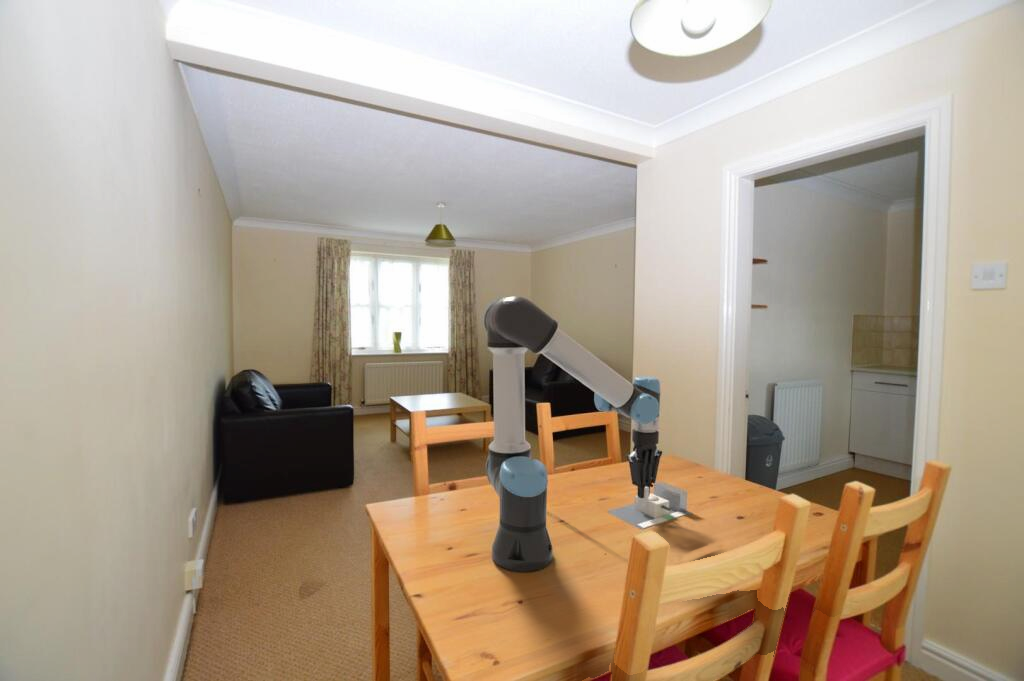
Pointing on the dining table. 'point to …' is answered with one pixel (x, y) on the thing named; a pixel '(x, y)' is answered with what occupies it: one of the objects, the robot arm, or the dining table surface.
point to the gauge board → (643, 516)
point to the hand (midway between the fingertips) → (643, 507)
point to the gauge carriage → (654, 506)
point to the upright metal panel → (672, 496)
